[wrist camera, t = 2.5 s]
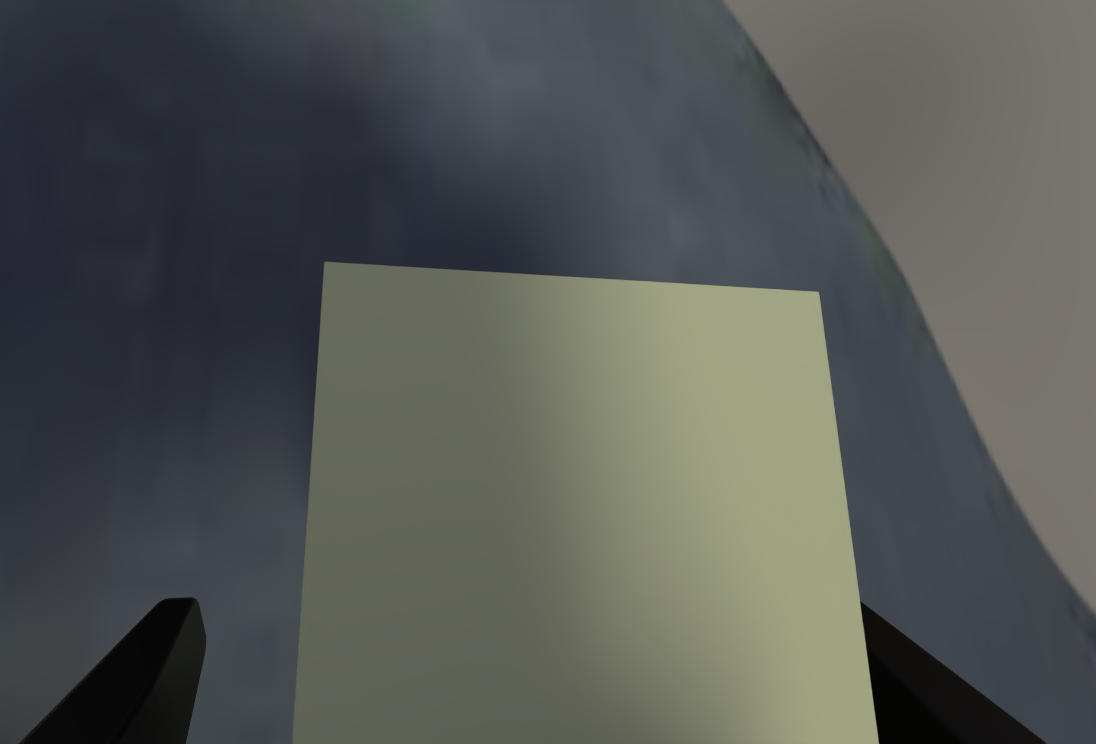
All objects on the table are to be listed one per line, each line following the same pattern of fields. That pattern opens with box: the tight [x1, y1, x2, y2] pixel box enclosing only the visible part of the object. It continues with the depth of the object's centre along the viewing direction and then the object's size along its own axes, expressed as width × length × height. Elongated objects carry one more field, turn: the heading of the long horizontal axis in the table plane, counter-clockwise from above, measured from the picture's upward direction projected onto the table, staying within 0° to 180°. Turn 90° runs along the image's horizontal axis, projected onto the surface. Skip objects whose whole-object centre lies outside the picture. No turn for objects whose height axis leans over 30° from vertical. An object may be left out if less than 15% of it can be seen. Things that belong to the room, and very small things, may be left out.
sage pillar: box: [292, 262, 879, 744], centre depth 12 cm, size 5×5×13 cm
